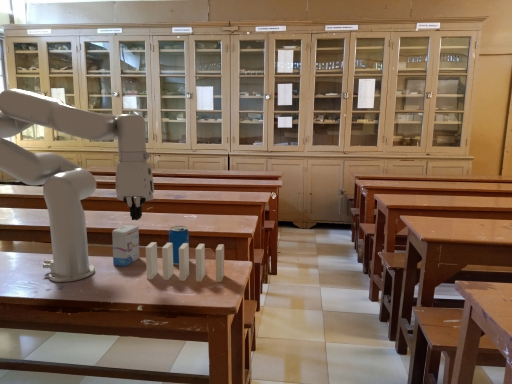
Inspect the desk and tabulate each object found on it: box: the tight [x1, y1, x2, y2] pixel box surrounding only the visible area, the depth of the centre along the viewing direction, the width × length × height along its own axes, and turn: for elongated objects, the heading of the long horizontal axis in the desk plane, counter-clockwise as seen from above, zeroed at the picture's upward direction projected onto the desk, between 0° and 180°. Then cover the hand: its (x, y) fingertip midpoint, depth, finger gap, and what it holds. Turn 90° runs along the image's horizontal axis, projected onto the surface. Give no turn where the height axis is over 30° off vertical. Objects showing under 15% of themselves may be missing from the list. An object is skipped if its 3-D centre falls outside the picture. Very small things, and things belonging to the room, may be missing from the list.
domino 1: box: [145, 241, 159, 280], centre depth 106 cm, size 2×5×10 cm, turn 176°
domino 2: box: [161, 242, 174, 281], centre depth 106 cm, size 2×5×10 cm, turn 176°
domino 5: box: [215, 243, 225, 283], centre depth 105 cm, size 2×5×10 cm, turn 176°
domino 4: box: [195, 243, 206, 282], centre depth 105 cm, size 2×5×10 cm, turn 176°
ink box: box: [111, 224, 140, 267], centre depth 117 cm, size 9×5×12 cm, turn 168°
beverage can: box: [168, 225, 190, 266], centre depth 117 cm, size 6×6×12 cm
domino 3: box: [178, 242, 190, 282], centre depth 105 cm, size 2×5×10 cm, turn 176°
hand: (136, 218), depth 104 cm, fingers closed
